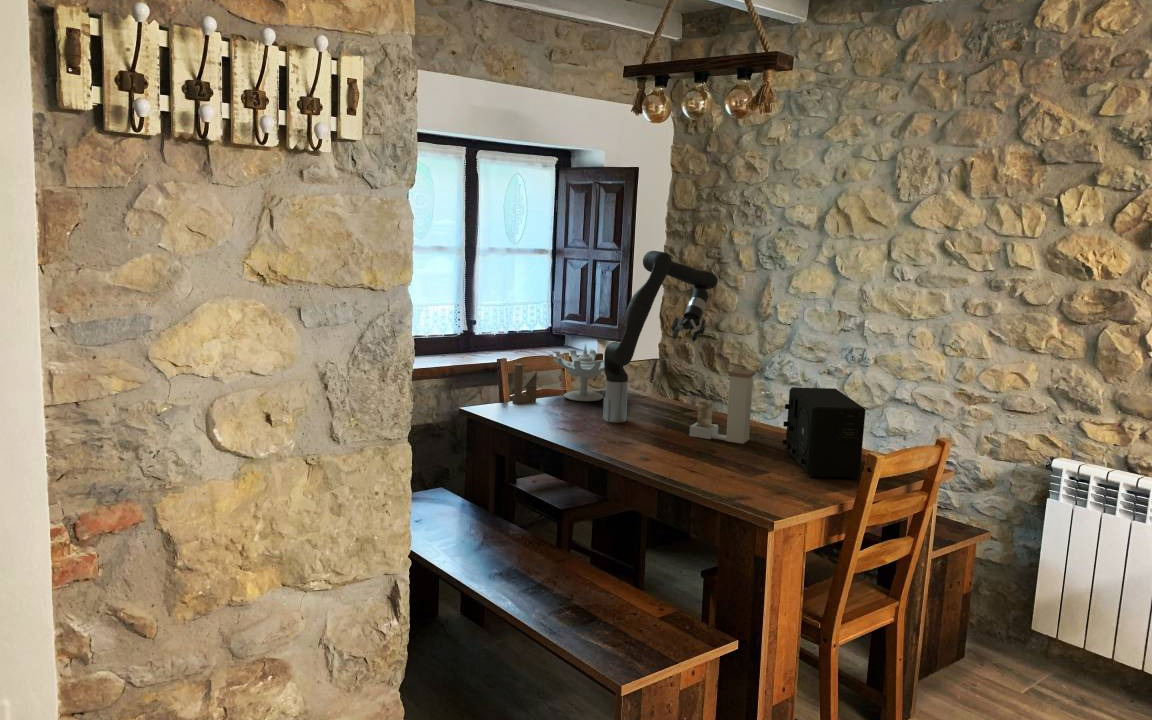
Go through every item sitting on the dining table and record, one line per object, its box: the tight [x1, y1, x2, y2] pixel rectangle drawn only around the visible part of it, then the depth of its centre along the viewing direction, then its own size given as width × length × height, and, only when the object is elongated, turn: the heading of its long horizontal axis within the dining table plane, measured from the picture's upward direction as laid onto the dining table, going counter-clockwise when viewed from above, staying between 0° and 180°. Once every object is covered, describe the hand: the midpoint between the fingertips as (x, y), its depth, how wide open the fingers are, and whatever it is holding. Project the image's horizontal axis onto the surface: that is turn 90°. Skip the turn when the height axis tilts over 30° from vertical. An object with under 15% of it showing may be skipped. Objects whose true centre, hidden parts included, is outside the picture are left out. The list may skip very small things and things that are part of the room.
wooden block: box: [512, 363, 538, 405], centre depth 404 cm, size 4×11×18 cm, turn 126°
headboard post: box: [689, 368, 756, 445], centre depth 351 cm, size 22×9×28 cm, turn 62°
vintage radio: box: [781, 387, 867, 479], centre depth 318 cm, size 38×20×25 cm, turn 0°
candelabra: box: [547, 341, 604, 402], centre depth 417 cm, size 34×35×27 cm
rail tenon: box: [696, 399, 714, 428], centre depth 355 cm, size 4×4×14 cm
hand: (683, 339), depth 379 cm, fingers open, 8 cm apart
